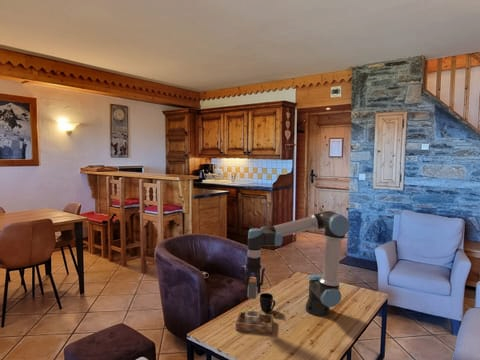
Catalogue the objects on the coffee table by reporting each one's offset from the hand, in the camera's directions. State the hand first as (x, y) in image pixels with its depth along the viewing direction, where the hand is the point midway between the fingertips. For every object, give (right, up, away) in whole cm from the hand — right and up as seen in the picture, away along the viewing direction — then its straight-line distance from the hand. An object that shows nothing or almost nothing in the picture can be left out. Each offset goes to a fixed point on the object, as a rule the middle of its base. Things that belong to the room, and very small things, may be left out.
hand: (252, 296), depth 185 cm
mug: (+10, -16, +19) cm, 27 cm away
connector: (0, 0, 0) cm, 0 cm away
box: (+1, -17, +1) cm, 17 cm away
